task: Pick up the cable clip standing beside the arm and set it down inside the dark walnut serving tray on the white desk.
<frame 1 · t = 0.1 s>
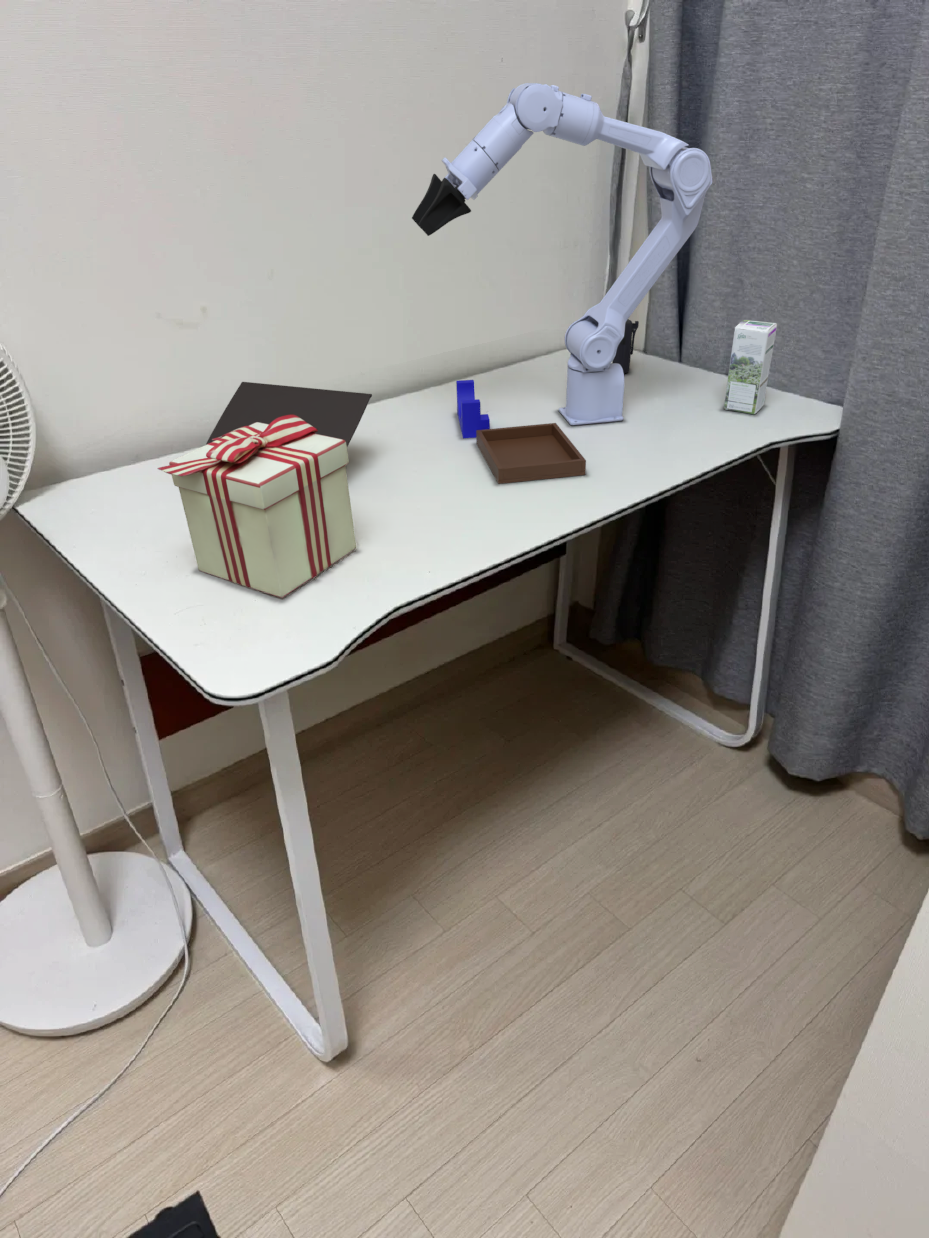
hand: (419, 227, 129), 32 cm above the table, tool tilted 50°, fingers open, 7 cm apart
syrup box: (743, 409, 152), on the table
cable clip: (473, 426, 148), on the table
tray: (528, 459, 135), on the table
two-way radio: (623, 372, 171), on the table
gift box: (266, 562, 109), on the table
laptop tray: (280, 479, 131), on the table
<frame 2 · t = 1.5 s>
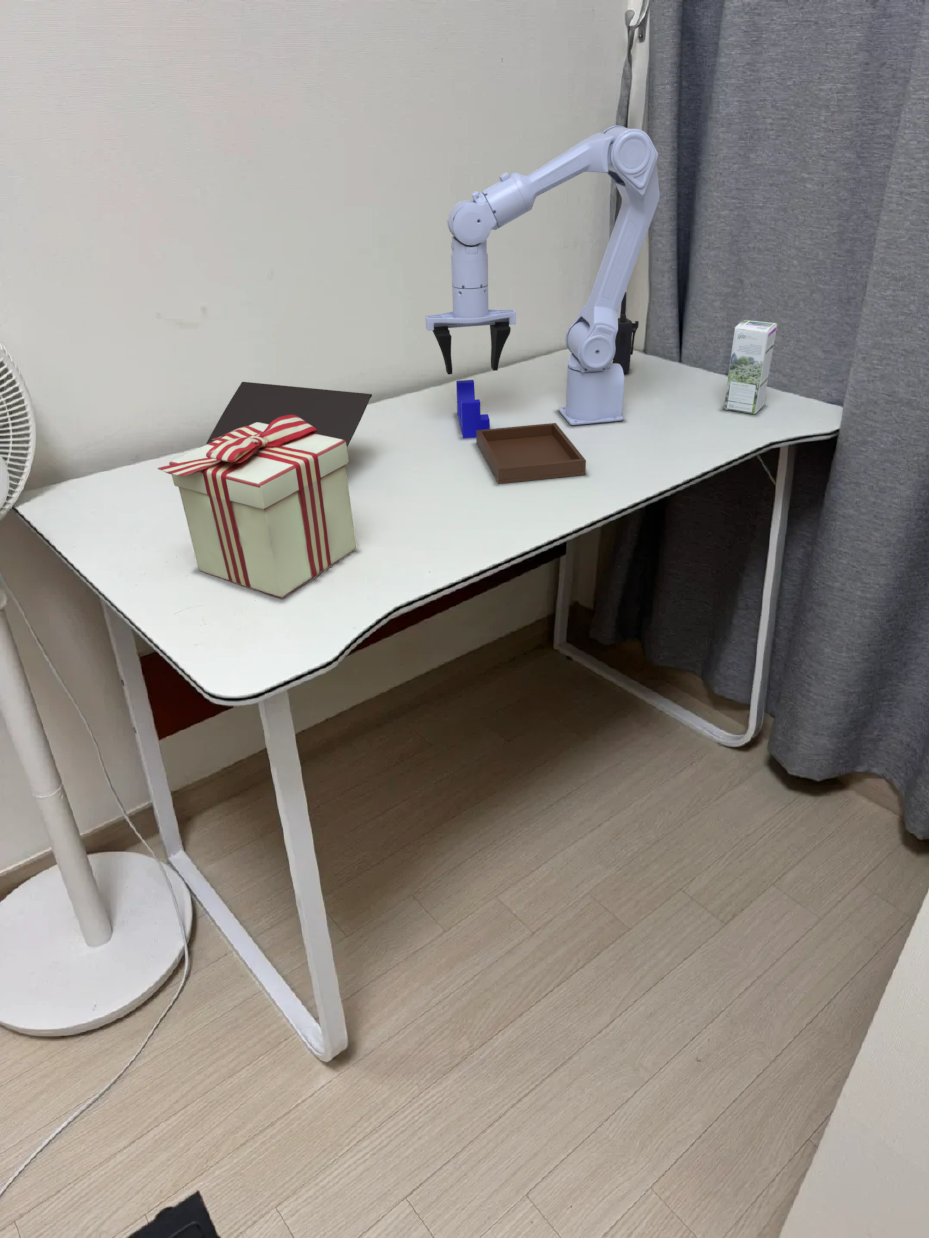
hand: (471, 370, 143), 9 cm above the table, tool pointing down, fingers open, 7 cm apart
nothing on the table moved.
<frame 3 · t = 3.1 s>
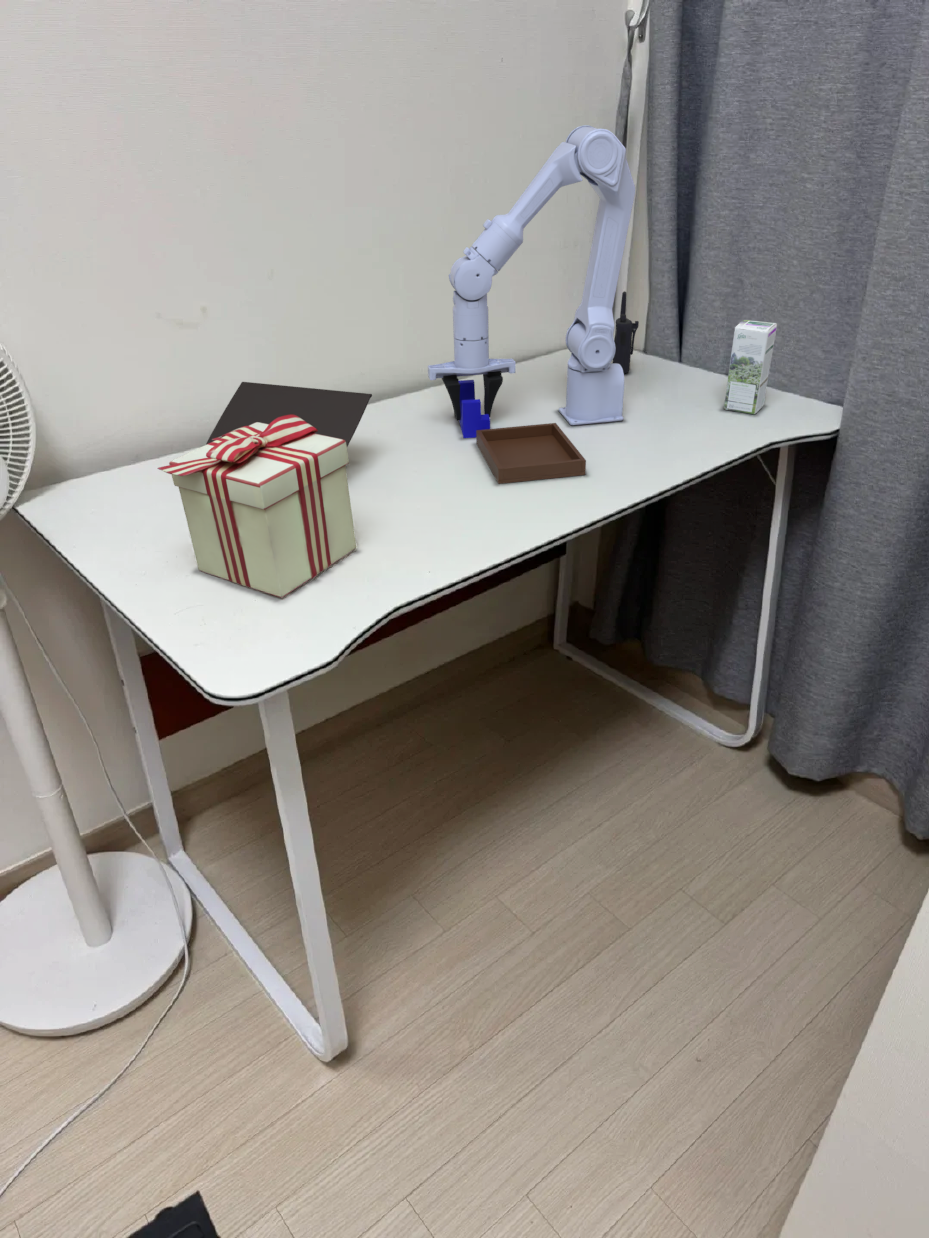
hand: (472, 417, 147), 1 cm above the table, tool pointing down, fingers closed on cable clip, 4 cm apart
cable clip: (473, 426, 148), on the table, touching gripper
everything else where it was.
when the fingers open (6 cm above the table, at t = 10.7 s): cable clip stays where it is, resting on tray.
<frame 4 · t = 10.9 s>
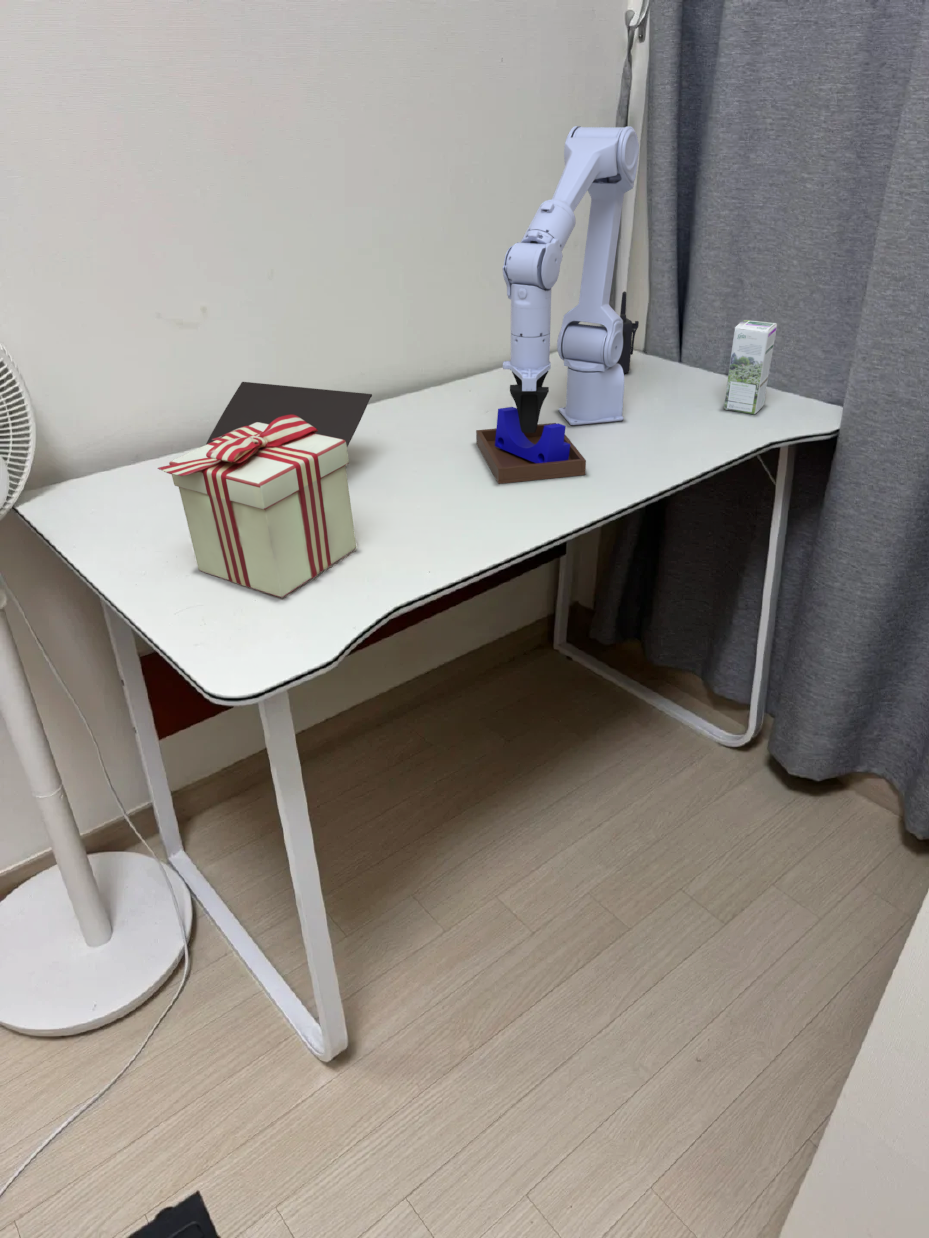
hand: (529, 422, 132), 6 cm above the table, tool pointing down, fingers open, 7 cm apart
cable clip: (530, 455, 134), point 1 cm above the table, touching gripper, tray
everything else where it was.
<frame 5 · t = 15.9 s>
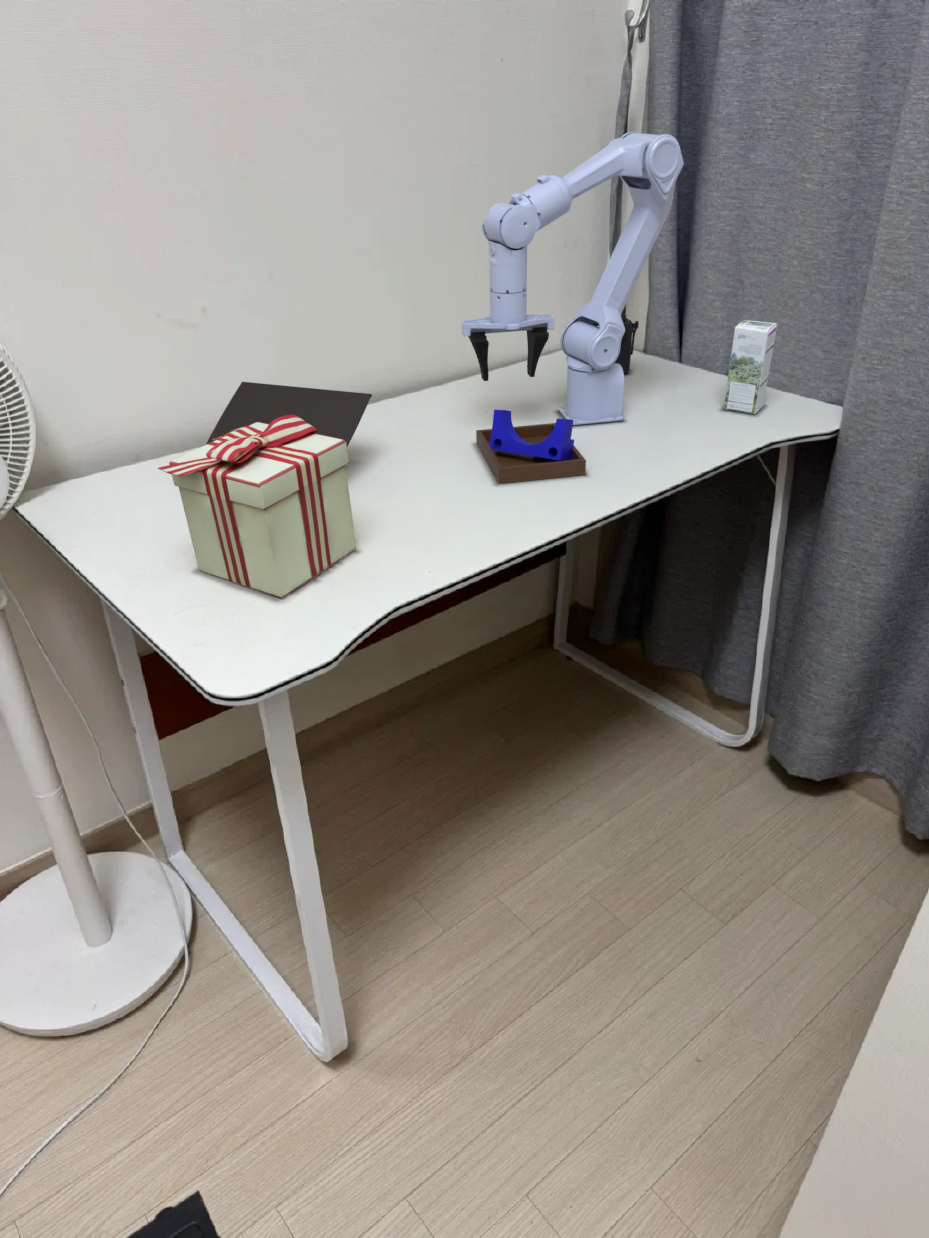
hand: (508, 377, 140), 9 cm above the table, tool pointing down, fingers open, 7 cm apart
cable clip: (530, 455, 133), point 1 cm above the table, touching tray
everything else where it was.
at the end: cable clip inside the target area in the tray (1.3 cm from its centre), point 1.1 cm above the tray's base; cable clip tilted 18° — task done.
